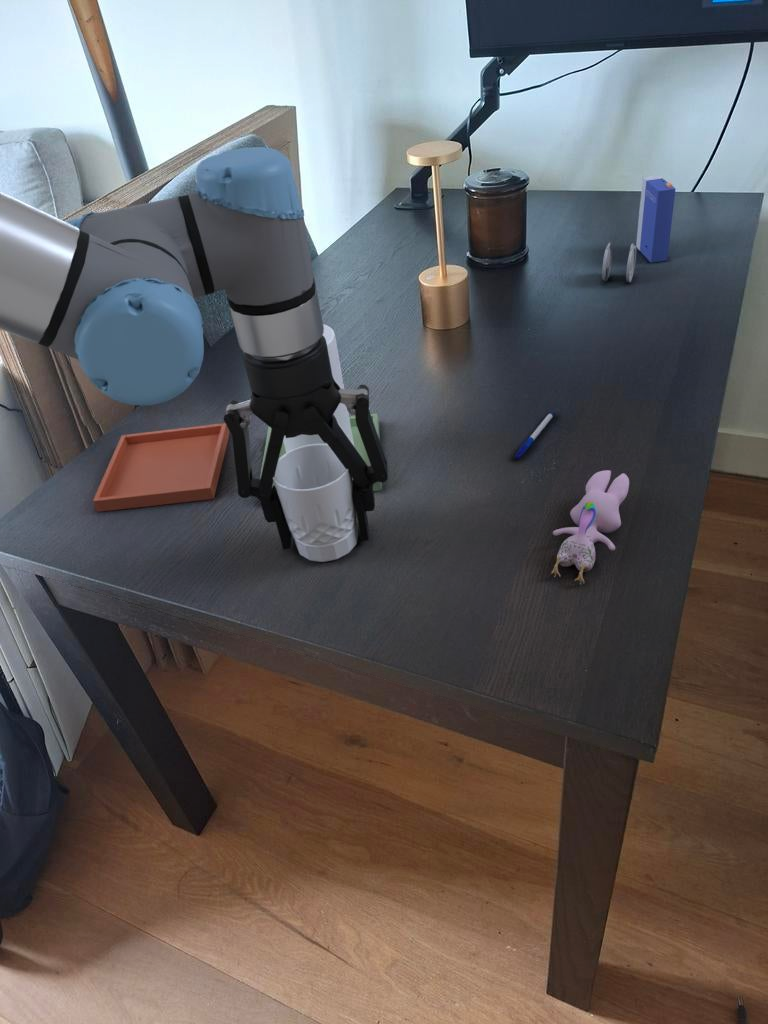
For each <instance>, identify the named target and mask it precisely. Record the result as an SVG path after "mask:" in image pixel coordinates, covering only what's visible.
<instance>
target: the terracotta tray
mask: <svg viewBox="0 0 768 1024" xmlns="http://www.w3.org/2000/svg"><path fill="white" fill-rule="evenodd" d="M230 435H231V433H230V431H229V429H228V427H227V425H226V423H225V422H223V423H213V424H206V425H205V424H204V425H198V426H189V427H179V428H170V429H163V430H155V431H145V432H137V433H131V434H130V433H129V434H122V435H121V436H120V438H119V440H118V443H117V445H116V447H115V448H114V449H115V450H114V452H113V454H112V457H111V459H110V461H109V464H108V466H107V467H106V470H105V472H104V474H103V477H102V479H101V481H100V484H99V486H98V488H97V491H96V493H95V495H94V497H93V500H92V503H93V505H94V507H95V509H96V512H97V513H101V512H110V511H120V510H128V509H135V508H144V507H145V508H146V507H154V506H163V505H171V504H172V505H173V504H180V503H188V502H189V503H191V502H197V501H198V502H199V501H206V500H214V499H215V497H216V496H215V495H216V492H217V488H218V483H219V479H220V475H221V471H222V467H223V463H224V458H225V455H226V450H227V446H228V442H229V438H230Z"/></svg>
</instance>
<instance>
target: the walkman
mask: <svg viewBox="0 0 768 1024" xmlns="http://www.w3.org/2000/svg"><path fill="white" fill-rule="evenodd" d="M676 190H677V189H676V188H675V187H674V185H673V183H671V182H668V181H667V180H666V179H664V178H663V177H662V176H661V175H659V174H657V175H652V176H651V175H648V176H642V181H641V190H640V191H641V192H640V200H639V212H638V222H637V231H636V232H637V233H636V243H635V246H636V249H637V250H638V251H639V252H640V253H641V254H642V255H643V256H644V257H645V258H646V259H647V260H648V261H649V262H650V263H657V262H659V263H660V262H666V261H668V256H669V247H670V241H671V240H670V239H671V231H672V225H673V223H672V221H673V216H674V215H673V214H674V207H675V197H676Z"/></svg>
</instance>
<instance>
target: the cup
mask: <svg viewBox="0 0 768 1024" xmlns="http://www.w3.org/2000/svg"><path fill="white" fill-rule="evenodd" d="M323 326H324V333H323V336H324V337H325V339H326V343H327V348H328V354H329V359H330V365H331V370H332V376H333V379H334V380H335V382H336V383H337V384H338V385H339V387H340V389H345V385H344V384H345V383H344V378H343V374H342V373H343V372H342V367H341V362H340V356H339V350H338V343H337V339H336V334H335V330H334V329H333V328H332V327H330V326H329V325H327V324H324V323H323ZM333 415H334V416H335V418H336V420H337V423H338V425H339V426H340V428H341V429H342V430H343V432H344V433H345V435H346V436H347V437H348V439H349V440H350V442H351V443H352V444H353V446H354V442H353V436H352V430H351V424H350V418H349V416H350V412H348V410H347V407H346V405H345V404H343V403H340V404H339V405H338V407H337V409H336V410H335V412H334V414H333ZM283 441H284V445H285V449H286V453H287V452H289V451H291V450H293V449H295V448H298V447H301V446H305V445H311V444H327V443H324V442H323V441H322V439H321V438H320V437H319V435H299V436H296V437H292V438H286V436H284V439H283Z"/></svg>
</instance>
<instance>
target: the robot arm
mask: <svg viewBox="0 0 768 1024" xmlns="http://www.w3.org/2000/svg"><path fill="white" fill-rule="evenodd" d="M194 177H195V185H194V187H195V191H191V192H187V194H184V195H180V196H175V197H170V198H166V199H161V200H155V201H150V202H145V203H141V204H136V205H130V206H125V207H121V208H116V209H111V210H105V211H101V212H96V211H95V212H93V211H90V212H85V213H83V214H82V215H81V216H78V217H75V218H71V219H67V220H62V219H60V218H58V217H55V216H54V215H51V214H50V213H47V212H45V211H44V210H41V209H39V208H36V207H34V206H32V205H30V204H28V203H26V202H24V201H21V200H20V199H18V198H15V197H13V196H11V195H9V194H7V193H5V192H2V191H0V330H1V331H4V332H5V333H8V334H11V335H14V336H16V337H19V338H22V339H24V340H27V341H30V342H32V343H35V344H38V345H40V346H43V347H46V348H47V349H50V350H53V351H55V352H58V353H60V354H63V355H65V356H68V357H70V358H73V359H75V360H77V361H78V363H79V365H80V367H81V370H82V372H83V373H84V375H85V376H86V378H87V379H88V380H89V381H90V382H91V383H92V385H93V386H94V387H96V388H97V389H98V390H99V391H100V392H101V393H102V394H104V395H105V396H106V397H108V398H110V399H112V400H115V401H117V402H119V403H123V404H127V405H131V406H153V405H158V404H163V403H166V402H168V401H171V400H172V399H175V398H176V397H178V396H179V395H181V394H182V393H184V392H185V391H186V390H187V389H188V388H189V387H190V386H191V385H192V383H193V382H194V381H195V380H196V378H197V376H198V375H199V374H200V370H201V368H202V364H203V361H204V353H205V346H204V345H205V343H204V333H205V332H204V320H203V317H202V314H201V310H200V308H199V307H198V304H197V302H196V301H195V299H196V298H200V297H203V296H208V295H212V294H215V293H216V292H221V291H225V294H226V299H227V303H228V306H229V310H230V311H229V312H230V314H231V318H232V322H233V326H234V331H235V334H236V338H237V342H238V346H239V348H240V350H241V351H243V352H242V361H243V364H244V365H243V366H244V368H245V372H246V375H247V376H246V377H247V379H248V384H249V387H250V391H251V396H250V399H249V400H244V401H243V402H238V401H237V400H234V399H232V400H229V401H228V402H227V404H226V408H225V411H224V415H223V422H224V423H226V425H227V427H228V430H229V433H230V435H231V439H232V447H233V448H232V449H233V458H234V466H235V467H234V468H235V476H236V477H235V478H236V484H237V485H236V486H237V494H238V496H239V497H240V498H242V499H247V498H248V499H249V498H250V497H253V498H254V497H255V498H257V499H258V500H259V503H260V506H261V509H262V512H263V517H264V520H265V521H266V522H267V524H268V523H275V525H276V529H277V532H278V535H279V539H280V543H281V546H282V550H283V551H286V550H291V548H292V538H293V535H292V533H291V532H290V529H289V526H288V523H287V521H286V518H285V515H284V512H283V509H282V506H281V503H280V500H279V496H278V493H277V490H276V487H275V486H273V487H272V485H273V477H274V476H275V472H276V468H277V464H278V459H279V455H280V451H281V448H282V444H283V439H284V436H286V438H292V437H296V436H299V435H319V437H320V438H321V439H322V441H323V442H324V443H327V444H328V445H329V447H330V448H331V450H332V451H333V452H334V454H335V455H336V456H337V458H338V459H339V460H340V462H341V463H342V464H343V466H344V467H345V468H346V469H348V472H349V474H350V475H351V477H352V478H353V497H354V503H355V508H356V520H357V525H358V531H359V534H360V540H361V542H367V541H370V537H369V535H370V533H369V532H370V531H369V528H370V527H369V519H368V514H367V512H373V511H374V512H375V507H376V501H375V493H374V492H375V491H373V484H374V483H376V482H382V483H386V482H387V481H388V479H389V475H388V474H389V473H388V472H389V471H388V460H387V458H386V456H385V455H386V454H385V451H384V450H383V446H382V444H381V439H380V440H379V437H378V434H377V432H376V429H375V426H374V423H373V420H372V417H371V414H372V413H371V411H370V390H369V387H368V386H367V384H359V385H357V386H356V389H355V388H354V389H352V388H344V389H340V387H339V385H338V384H337V383H336V382H335V380H334V379H333V376H332V370H331V365H330V359H329V354H328V348H327V343H326V339H325V337H324V336H323V333H324V326H323V324H324V322H323V316H322V311H321V306H320V301H319V300H320V299H319V295H318V290H317V286H316V281H315V276H314V270H313V264H312V263H313V262H312V257H311V251H310V245H309V240H308V234H307V233H308V232H307V228H306V223H305V222H306V221H305V217H304V216H305V210H304V209H303V207H302V204H301V203H302V202H301V199H300V196H299V191H298V186H297V183H296V178H295V174H294V170H293V165H292V162H291V159H289V158H288V157H287V156H286V155H285V154H284V153H283V152H282V151H280V150H278V149H275V148H271V147H263V146H253V147H251V146H250V147H242V148H236V149H231V150H226V151H223V152H222V153H220V154H213V155H210V156H208V157H206V158H205V159H203V160H201V161H200V162H199V163H198V164H197V166H196V167H195V169H194ZM340 403H343V404H345V405H346V407H347V410H348V413H349V414H351V416H355V419H356V424H357V428H358V430H359V433H360V436H361V439H362V441H363V444H364V447H365V450H366V453H367V455H368V458H369V461H370V464H371V466H368V465H367V464H366V463H365V461H364V460H363V458H362V457H361V456H360V454H359V453H358V451H357V450H356V449H355V447H354V446H353V444H352V443H351V442H350V440H349V439H348V437H347V436H346V435H345V433H344V432H343V430H342V429H341V428H340V426H339V425H338V423H337V420H336V418H335V416H334V415H333V414H334V412H335V410H336V409H337V407H338V405H339V404H340ZM252 415H254V416H256V417H257V418H258V419H259V420H260V421H262V422H263V423H265V425H267V426H268V427H271V428H272V429H271V433H270V438H269V442H268V447H267V451H266V456H265V460H264V465H263V470H262V474H261V473H260V475H261V478H260V477H259V478H254V474H253V465H252V464H253V463H252V453H251V443H250V430H249V425H250V424H251V420H252Z"/></svg>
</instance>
